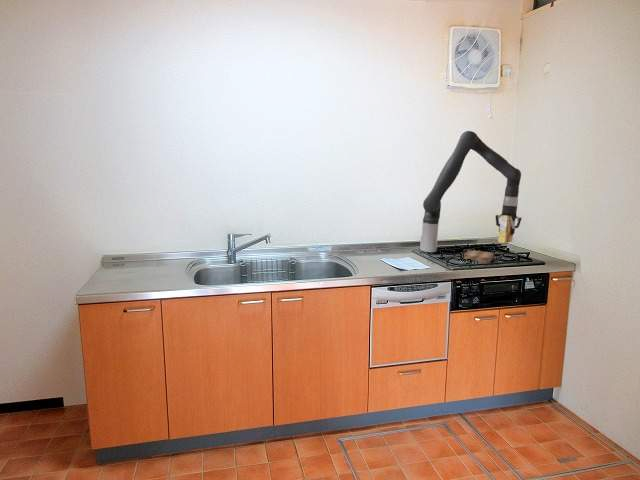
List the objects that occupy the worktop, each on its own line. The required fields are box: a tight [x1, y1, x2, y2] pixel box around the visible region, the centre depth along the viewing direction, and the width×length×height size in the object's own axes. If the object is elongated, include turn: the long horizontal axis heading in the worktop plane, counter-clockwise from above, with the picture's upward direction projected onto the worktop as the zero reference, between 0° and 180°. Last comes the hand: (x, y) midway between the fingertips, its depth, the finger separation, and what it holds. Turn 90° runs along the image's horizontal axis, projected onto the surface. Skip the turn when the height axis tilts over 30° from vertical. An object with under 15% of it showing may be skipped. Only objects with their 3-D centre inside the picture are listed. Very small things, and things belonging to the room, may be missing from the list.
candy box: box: [498, 215, 516, 244], centre depth 262 cm, size 9×4×15 cm, turn 130°
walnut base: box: [463, 249, 494, 264], centre depth 266 cm, size 14×14×3 cm
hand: (506, 234), depth 262 cm, fingers closed on candy box, 5 cm apart
